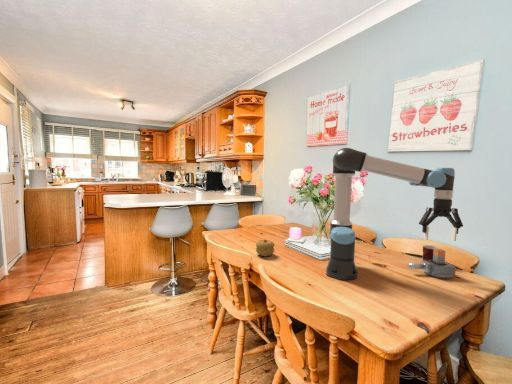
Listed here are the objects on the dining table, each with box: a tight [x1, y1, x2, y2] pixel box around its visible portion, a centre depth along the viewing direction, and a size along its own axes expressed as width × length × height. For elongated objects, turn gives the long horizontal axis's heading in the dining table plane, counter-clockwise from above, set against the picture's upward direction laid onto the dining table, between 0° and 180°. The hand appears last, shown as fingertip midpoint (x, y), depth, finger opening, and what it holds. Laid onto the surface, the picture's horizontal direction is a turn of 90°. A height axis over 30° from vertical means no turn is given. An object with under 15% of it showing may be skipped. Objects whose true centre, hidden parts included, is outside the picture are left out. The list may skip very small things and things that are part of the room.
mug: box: [421, 244, 441, 260], centre depth 145 cm, size 11×8×10 cm
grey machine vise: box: [407, 258, 457, 280], centre depth 132 cm, size 21×12×6 cm, turn 86°
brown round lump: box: [255, 238, 275, 257], centre depth 160 cm, size 12×12×10 cm
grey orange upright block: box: [433, 248, 446, 265], centre depth 131 cm, size 4×4×11 cm
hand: (439, 239), depth 130 cm, fingers open, 13 cm apart
